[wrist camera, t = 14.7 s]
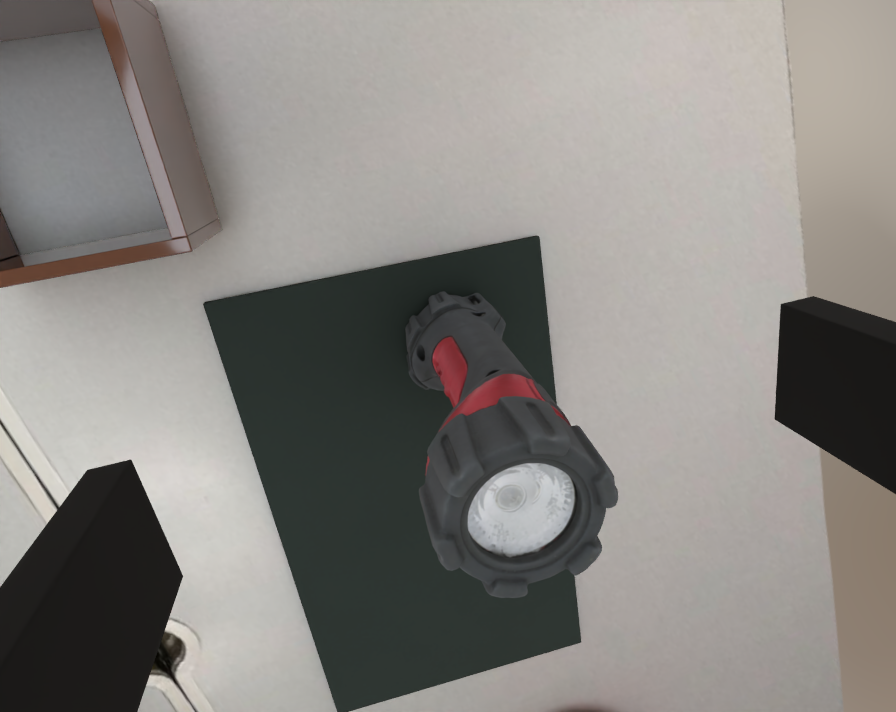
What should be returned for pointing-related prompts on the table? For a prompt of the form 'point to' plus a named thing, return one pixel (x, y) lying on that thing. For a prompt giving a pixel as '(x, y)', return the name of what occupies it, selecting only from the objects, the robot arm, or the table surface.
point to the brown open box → (157, 127)
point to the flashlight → (502, 457)
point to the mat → (381, 468)
